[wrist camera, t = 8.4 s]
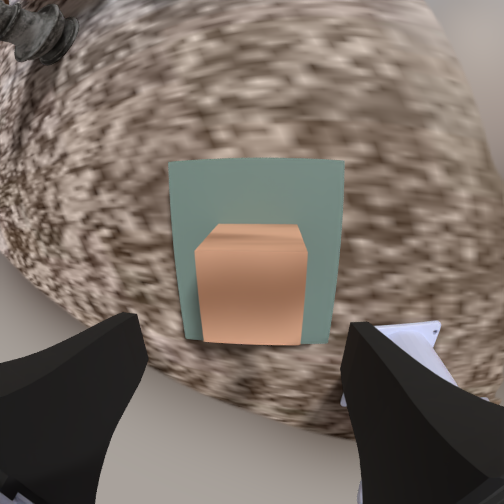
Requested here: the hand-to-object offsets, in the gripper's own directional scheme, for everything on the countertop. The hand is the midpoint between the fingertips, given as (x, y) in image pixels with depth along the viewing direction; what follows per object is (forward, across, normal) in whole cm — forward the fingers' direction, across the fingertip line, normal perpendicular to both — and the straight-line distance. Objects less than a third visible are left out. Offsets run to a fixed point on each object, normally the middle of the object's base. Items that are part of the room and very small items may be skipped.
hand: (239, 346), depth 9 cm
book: (+10, 0, 0) cm, 10 cm away
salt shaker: (+10, +18, -20) cm, 29 cm away
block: (+8, 0, 0) cm, 8 cm away
